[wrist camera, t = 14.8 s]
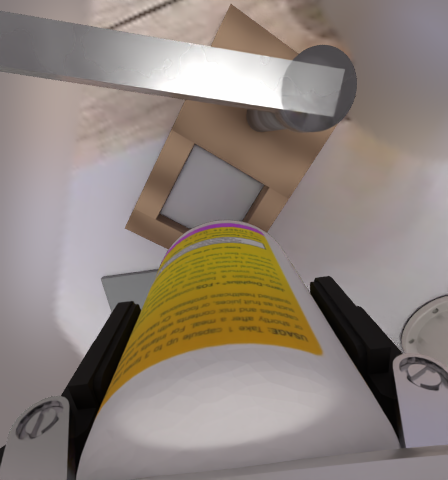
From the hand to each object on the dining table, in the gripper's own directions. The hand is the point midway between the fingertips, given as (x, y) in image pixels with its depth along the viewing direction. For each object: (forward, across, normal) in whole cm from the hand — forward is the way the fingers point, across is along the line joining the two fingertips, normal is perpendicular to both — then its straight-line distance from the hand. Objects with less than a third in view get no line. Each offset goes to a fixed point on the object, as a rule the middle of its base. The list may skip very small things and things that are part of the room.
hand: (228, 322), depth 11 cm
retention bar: (+7, +1, -10) cm, 12 cm away
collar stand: (+22, -2, -4) cm, 23 cm away
